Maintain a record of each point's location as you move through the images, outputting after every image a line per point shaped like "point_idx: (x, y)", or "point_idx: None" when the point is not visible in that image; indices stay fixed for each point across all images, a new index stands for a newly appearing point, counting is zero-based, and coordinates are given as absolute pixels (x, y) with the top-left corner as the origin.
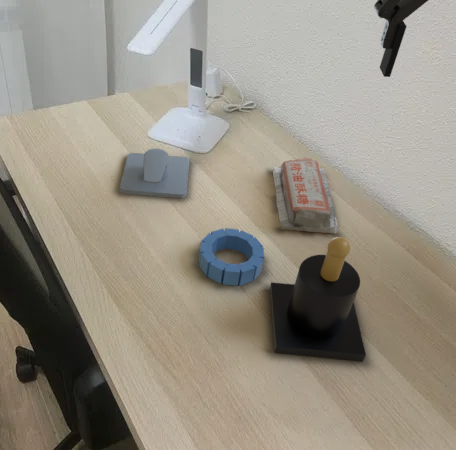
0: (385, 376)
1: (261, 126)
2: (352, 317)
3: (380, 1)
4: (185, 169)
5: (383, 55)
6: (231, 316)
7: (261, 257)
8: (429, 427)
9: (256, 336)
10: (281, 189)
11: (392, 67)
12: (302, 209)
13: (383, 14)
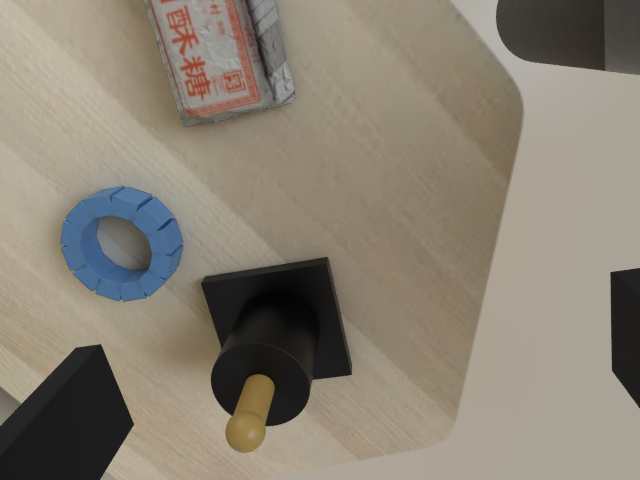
0: (381, 379)
1: None
2: (331, 318)
3: None
4: None
5: (40, 388)
6: (168, 339)
7: (167, 253)
8: (429, 430)
9: (210, 361)
10: None
11: (110, 459)
12: (202, 116)
13: None
